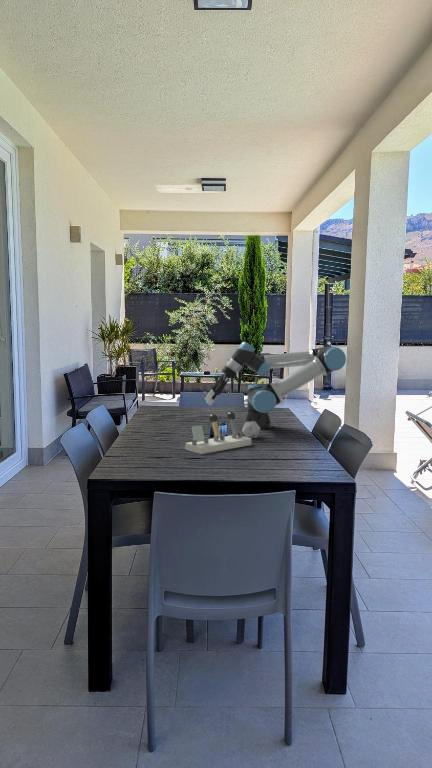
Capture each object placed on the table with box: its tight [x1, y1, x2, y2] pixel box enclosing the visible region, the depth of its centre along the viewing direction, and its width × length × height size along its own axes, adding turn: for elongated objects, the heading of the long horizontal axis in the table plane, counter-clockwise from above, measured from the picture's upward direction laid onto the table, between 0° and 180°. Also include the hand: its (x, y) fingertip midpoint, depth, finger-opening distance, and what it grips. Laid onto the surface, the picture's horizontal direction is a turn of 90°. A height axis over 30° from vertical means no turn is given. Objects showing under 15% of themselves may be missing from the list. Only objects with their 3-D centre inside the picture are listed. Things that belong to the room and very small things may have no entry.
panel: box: [184, 431, 252, 455], centre depth 250 cm, size 11×30×5 cm, turn 130°
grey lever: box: [226, 411, 239, 436], centre depth 259 cm, size 4×4×12 cm
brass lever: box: [208, 413, 222, 439], centre depth 252 cm, size 4×4×12 cm
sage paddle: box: [190, 425, 205, 442], centre depth 244 cm, size 1×5×7 cm, turn 131°
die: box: [241, 422, 262, 439], centre depth 273 cm, size 8×9×10 cm
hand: (207, 402), depth 284 cm, fingers open, 13 cm apart
